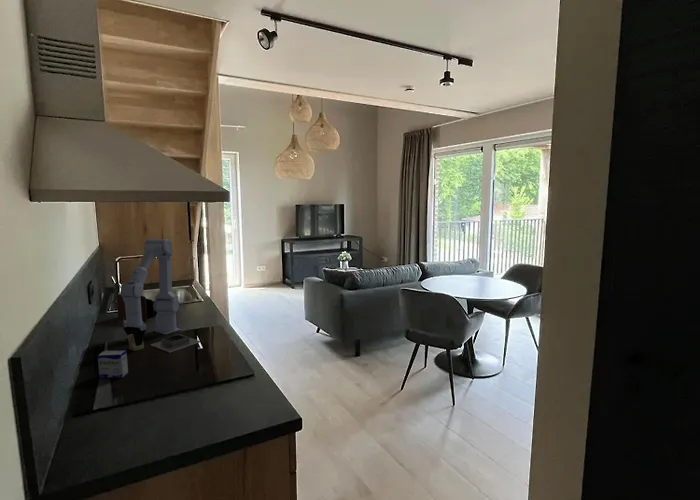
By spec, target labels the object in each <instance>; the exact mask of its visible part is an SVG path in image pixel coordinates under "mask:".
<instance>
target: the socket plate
mask: <svg viewBox="0 0 700 500" xmlns="http://www.w3.org/2000/svg"><path fill="white" fill-rule="evenodd" d="M199 343H201V341H200V340H199V339H196V338H192V337H190V336H187V335H183V334H180V333H177V334H173V335H170V336H167V337H164V338H161V340H160V341H157V342H154V343H151V344H150V347H153V348H156V349H158V350H162V351H164V352H166V353H172V352H176V351H179V350H181V349H184V348H187V347H190V346H193V345H197V344H199Z"/></svg>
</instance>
